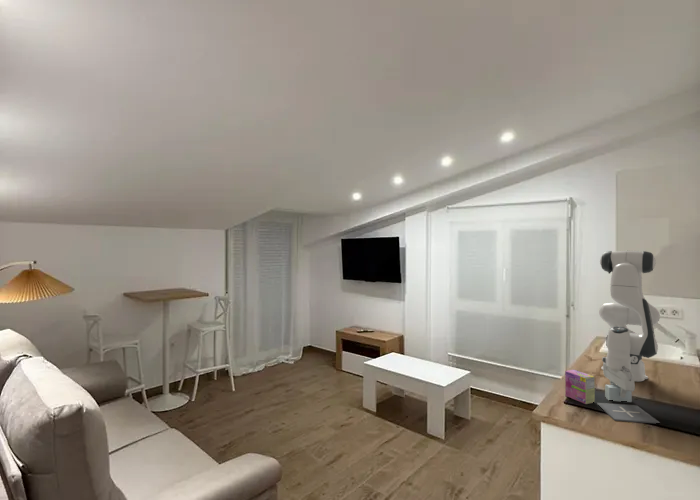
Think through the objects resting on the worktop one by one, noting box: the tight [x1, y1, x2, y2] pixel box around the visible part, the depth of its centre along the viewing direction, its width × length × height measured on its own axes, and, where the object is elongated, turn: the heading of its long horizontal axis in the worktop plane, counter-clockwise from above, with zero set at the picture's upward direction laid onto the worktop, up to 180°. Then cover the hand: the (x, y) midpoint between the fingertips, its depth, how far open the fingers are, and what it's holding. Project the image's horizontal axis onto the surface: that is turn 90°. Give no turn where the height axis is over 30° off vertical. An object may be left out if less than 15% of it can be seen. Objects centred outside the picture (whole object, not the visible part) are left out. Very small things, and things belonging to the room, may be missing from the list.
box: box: [564, 369, 596, 405], centre depth 174 cm, size 10×6×12 cm, turn 21°
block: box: [604, 384, 633, 403], centre depth 174 cm, size 4×9×6 cm, turn 80°
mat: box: [595, 402, 661, 424], centre depth 160 cm, size 16×16×1 cm
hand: (618, 393), depth 174 cm, fingers open, 6 cm apart
